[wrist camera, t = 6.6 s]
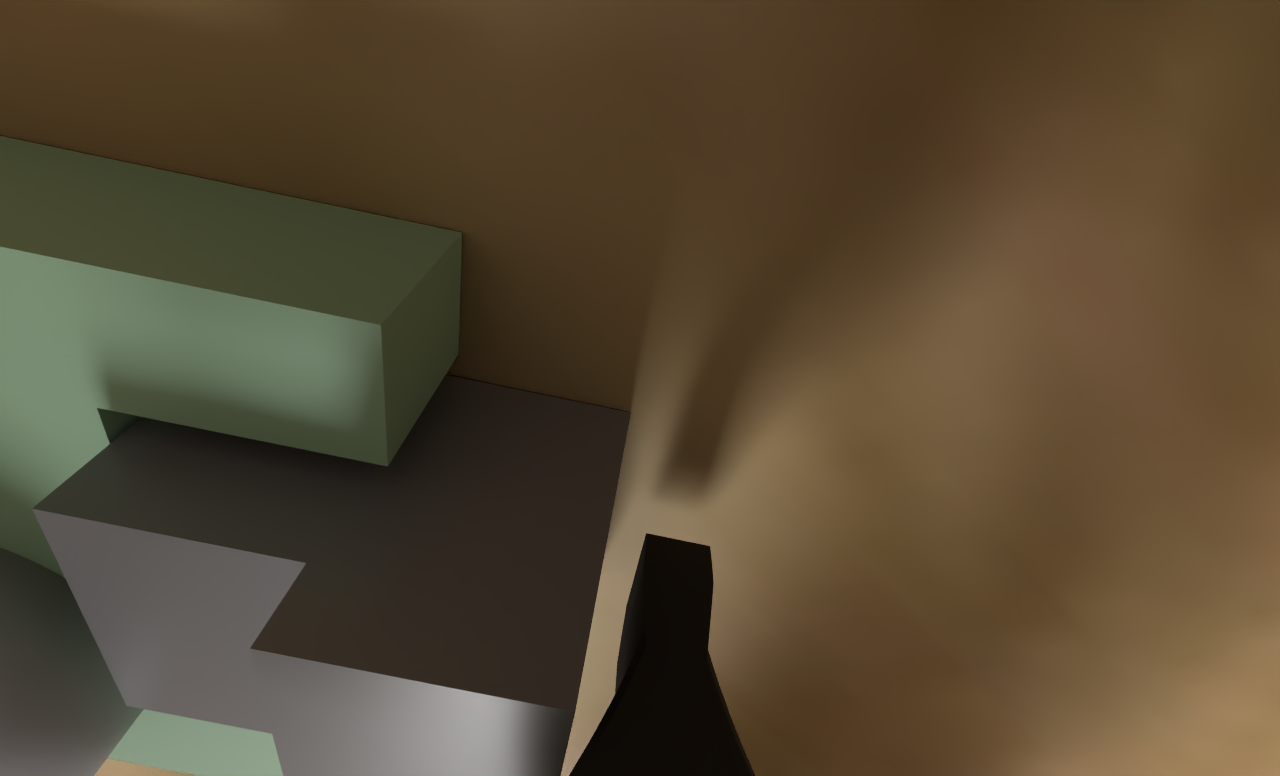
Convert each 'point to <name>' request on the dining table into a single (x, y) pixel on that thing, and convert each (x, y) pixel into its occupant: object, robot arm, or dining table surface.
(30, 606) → the sage green base plate
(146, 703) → the notched gray block
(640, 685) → the robot arm
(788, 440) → the dining table surface
